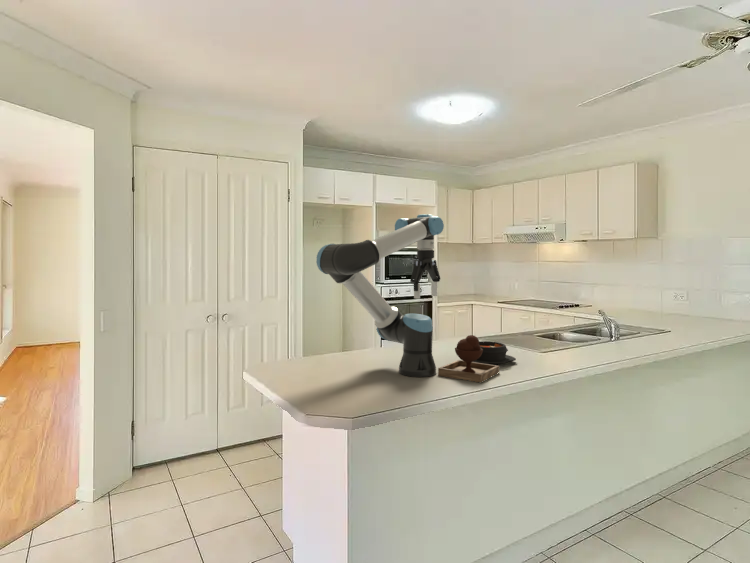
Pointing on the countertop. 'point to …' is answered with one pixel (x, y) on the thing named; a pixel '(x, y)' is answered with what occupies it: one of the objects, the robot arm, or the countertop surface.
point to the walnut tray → (456, 372)
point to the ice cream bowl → (469, 351)
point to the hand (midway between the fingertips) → (425, 297)
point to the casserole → (493, 353)
